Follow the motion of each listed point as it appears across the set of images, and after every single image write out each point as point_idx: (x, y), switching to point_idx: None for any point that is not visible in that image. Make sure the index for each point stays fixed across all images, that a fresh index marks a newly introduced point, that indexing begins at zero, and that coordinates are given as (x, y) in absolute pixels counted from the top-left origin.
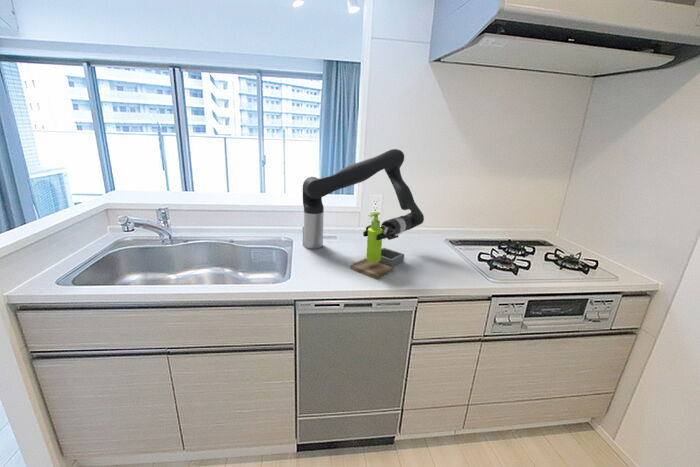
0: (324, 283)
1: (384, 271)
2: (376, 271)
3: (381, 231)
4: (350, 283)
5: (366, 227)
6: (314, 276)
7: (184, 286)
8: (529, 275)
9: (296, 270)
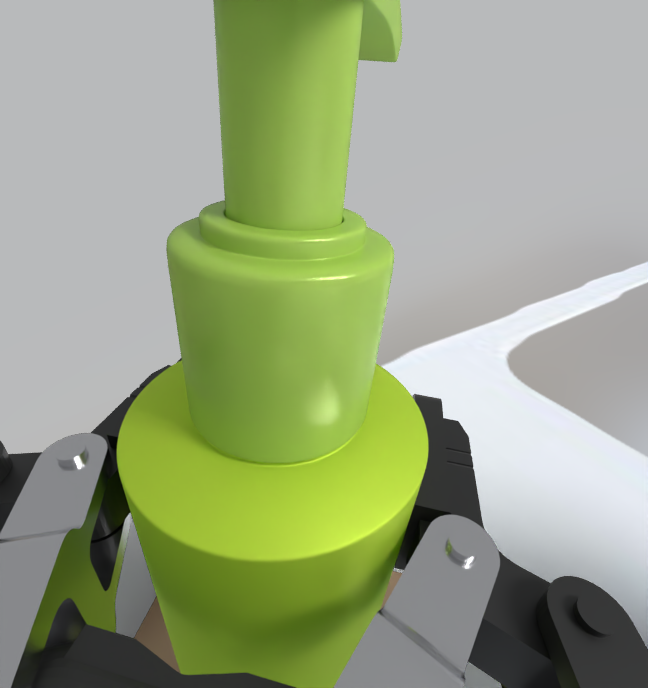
0: None
1: (149, 624)
2: None
3: (142, 398)
4: None
5: (598, 597)
6: (484, 421)
7: (617, 292)
8: None
9: (588, 430)
